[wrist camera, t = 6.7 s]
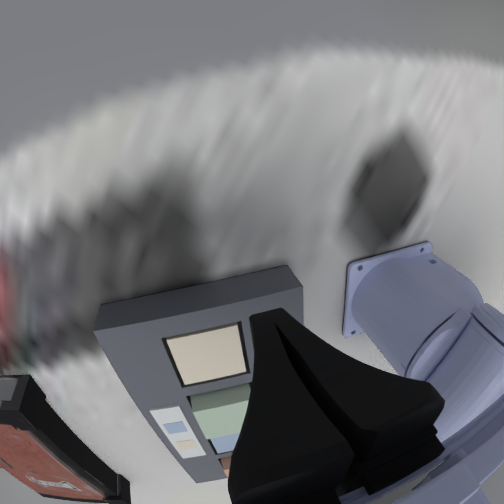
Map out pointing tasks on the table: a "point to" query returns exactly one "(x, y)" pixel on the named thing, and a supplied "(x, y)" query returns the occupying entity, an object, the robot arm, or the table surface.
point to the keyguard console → (163, 364)
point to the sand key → (208, 353)
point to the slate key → (225, 442)
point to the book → (50, 449)
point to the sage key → (221, 410)
